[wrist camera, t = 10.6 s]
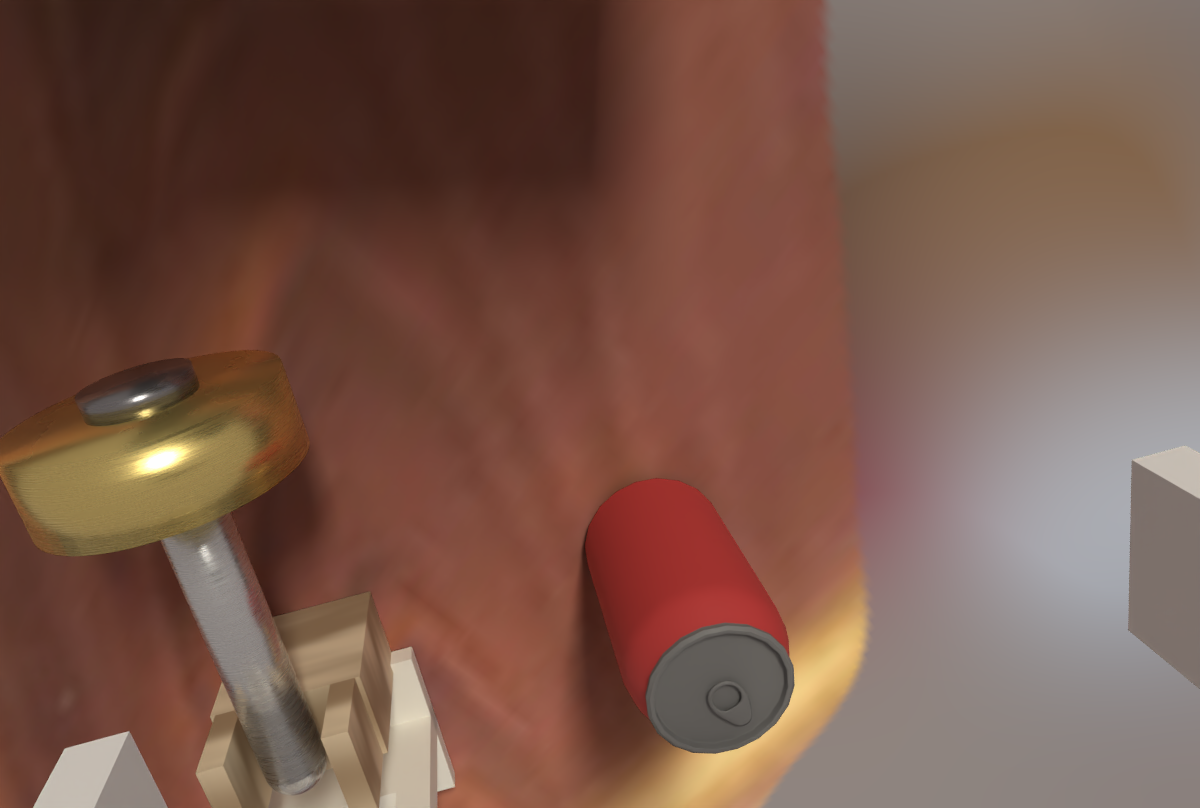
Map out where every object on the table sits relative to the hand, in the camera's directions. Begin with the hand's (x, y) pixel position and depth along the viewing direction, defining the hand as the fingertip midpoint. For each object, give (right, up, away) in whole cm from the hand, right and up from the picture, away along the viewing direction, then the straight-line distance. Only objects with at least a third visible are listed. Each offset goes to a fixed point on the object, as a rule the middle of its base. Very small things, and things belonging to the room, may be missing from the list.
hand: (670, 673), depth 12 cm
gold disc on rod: (-15, -2, +25) cm, 30 cm away
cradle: (-14, -8, +31) cm, 35 cm away
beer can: (+1, -3, +33) cm, 33 cm away
